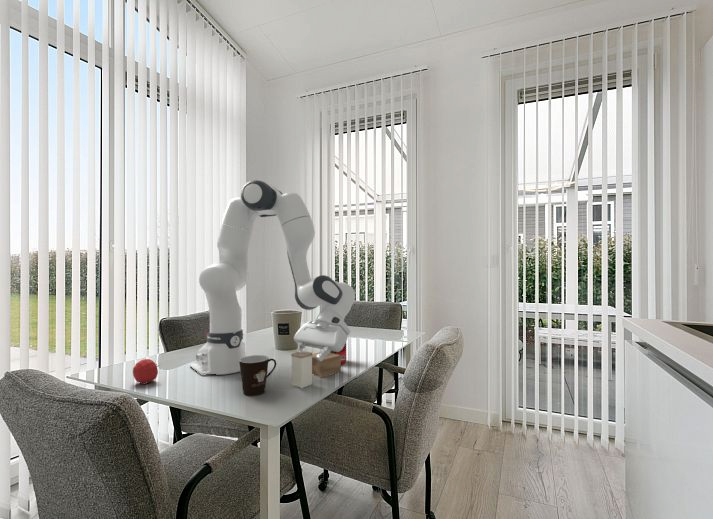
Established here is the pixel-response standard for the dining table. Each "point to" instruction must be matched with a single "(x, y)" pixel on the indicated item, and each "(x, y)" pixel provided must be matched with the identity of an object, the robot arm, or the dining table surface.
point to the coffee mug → (254, 374)
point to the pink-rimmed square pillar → (301, 369)
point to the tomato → (145, 371)
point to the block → (326, 364)
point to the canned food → (342, 353)
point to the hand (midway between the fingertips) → (308, 357)
